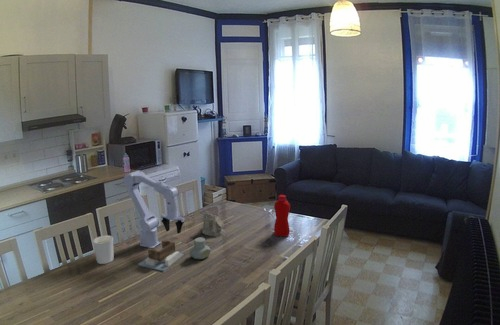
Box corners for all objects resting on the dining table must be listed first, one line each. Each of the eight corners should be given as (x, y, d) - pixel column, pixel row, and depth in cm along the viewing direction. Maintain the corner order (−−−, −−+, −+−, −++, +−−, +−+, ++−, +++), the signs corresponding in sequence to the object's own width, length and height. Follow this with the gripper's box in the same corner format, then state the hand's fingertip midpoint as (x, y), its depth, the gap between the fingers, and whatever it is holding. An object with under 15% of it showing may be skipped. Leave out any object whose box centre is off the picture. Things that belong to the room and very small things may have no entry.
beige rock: (218, 237, 205) (217, 213, 203) (197, 233, 213) (196, 210, 211) (232, 230, 218) (232, 207, 216) (212, 226, 226) (211, 204, 224)
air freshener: (202, 250, 189) (201, 234, 187) (213, 255, 184) (212, 238, 182) (187, 258, 181) (186, 241, 179) (198, 263, 176) (197, 245, 174)
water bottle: (292, 237, 205) (293, 197, 200) (274, 237, 205) (275, 198, 200) (291, 230, 214) (291, 193, 209) (273, 231, 214) (274, 193, 209)
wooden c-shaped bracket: (148, 258, 175) (147, 249, 174) (163, 248, 186) (163, 239, 185) (160, 261, 172) (159, 252, 171) (175, 251, 182) (174, 242, 181)
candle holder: (119, 257, 182) (117, 236, 180) (106, 266, 173) (103, 244, 171) (104, 254, 186) (102, 234, 183) (91, 263, 176) (88, 241, 174)
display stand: (138, 265, 174) (137, 258, 173) (159, 250, 190) (159, 243, 189) (163, 271, 168) (163, 264, 167) (184, 255, 184) (183, 248, 183)
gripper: (187, 208, 187) (188, 231, 190) (165, 204, 193) (167, 227, 196) (179, 212, 181) (181, 236, 184) (157, 208, 186) (159, 231, 189)
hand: (173, 231), depth 189 cm, fingers open, 7 cm apart
